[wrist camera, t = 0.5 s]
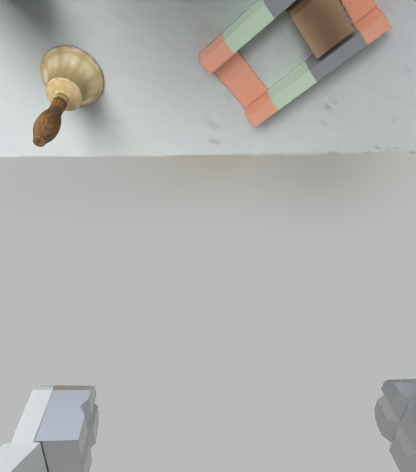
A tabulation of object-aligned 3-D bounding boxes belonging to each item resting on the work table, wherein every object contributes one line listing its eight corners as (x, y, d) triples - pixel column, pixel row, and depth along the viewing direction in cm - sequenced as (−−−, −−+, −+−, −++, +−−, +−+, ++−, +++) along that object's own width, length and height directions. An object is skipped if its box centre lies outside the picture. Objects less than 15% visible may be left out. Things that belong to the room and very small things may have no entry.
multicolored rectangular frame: (337, -73, 42) (344, -68, 40) (382, 19, 49) (391, 27, 47) (199, 53, 51) (199, 62, 49) (253, 117, 58) (255, 127, 56)
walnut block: (322, -24, 45) (330, -15, 43) (345, 19, 49) (354, 30, 46) (285, 8, 48) (291, 18, 45) (310, 47, 51) (316, 59, 48)
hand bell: (103, 110, 57) (80, 176, 45) (44, 100, 55) (5, 165, 44) (104, 52, 51) (78, 111, 40) (37, 39, 50) (-9, 97, 38)
